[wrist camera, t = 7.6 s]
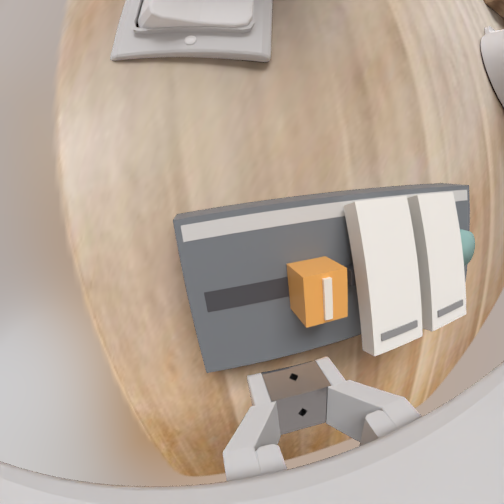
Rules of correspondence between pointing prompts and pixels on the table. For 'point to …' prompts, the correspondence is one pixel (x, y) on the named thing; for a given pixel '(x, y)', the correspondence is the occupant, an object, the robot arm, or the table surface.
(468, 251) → the button
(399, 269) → the panel
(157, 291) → the table surface
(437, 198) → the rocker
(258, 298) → the panel
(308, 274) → the slider knob
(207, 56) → the light switch
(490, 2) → the frame
